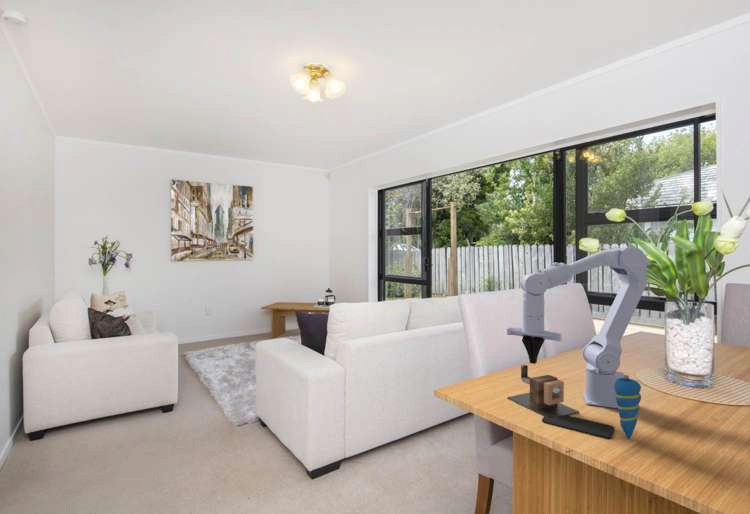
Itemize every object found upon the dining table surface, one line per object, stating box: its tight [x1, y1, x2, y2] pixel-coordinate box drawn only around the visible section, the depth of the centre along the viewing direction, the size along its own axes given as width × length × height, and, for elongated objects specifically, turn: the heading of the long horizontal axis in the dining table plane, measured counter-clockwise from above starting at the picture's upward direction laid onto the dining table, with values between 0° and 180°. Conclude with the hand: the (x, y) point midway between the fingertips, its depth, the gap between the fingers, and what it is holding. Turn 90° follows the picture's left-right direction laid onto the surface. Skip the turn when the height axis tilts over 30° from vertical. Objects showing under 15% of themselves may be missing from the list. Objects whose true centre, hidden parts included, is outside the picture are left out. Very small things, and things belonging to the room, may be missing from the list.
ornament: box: [614, 374, 642, 440], centre depth 88 cm, size 5×5×15 cm
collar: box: [544, 379, 565, 405], centre depth 103 cm, size 2×5×5 cm, turn 113°
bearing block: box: [529, 374, 559, 409], centre depth 106 cm, size 3×7×7 cm, turn 113°
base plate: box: [507, 392, 580, 418], centre depth 107 cm, size 16×10×1 cm, turn 24°
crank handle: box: [520, 364, 562, 396], centre depth 107 cm, size 13×2×5 cm, turn 23°
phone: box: [541, 415, 615, 440], centre depth 95 cm, size 7×1×15 cm
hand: (533, 362), depth 111 cm, fingers closed
